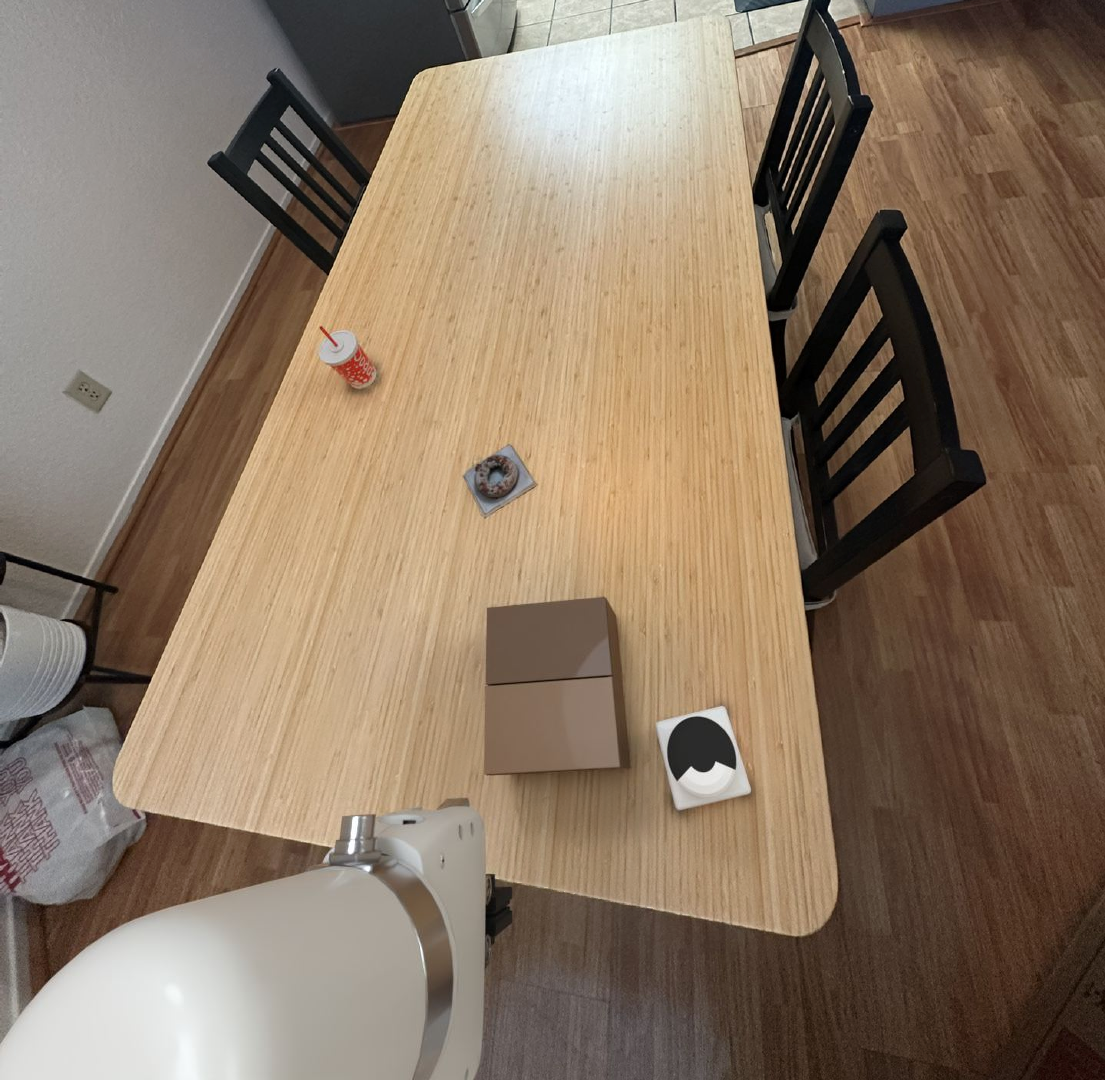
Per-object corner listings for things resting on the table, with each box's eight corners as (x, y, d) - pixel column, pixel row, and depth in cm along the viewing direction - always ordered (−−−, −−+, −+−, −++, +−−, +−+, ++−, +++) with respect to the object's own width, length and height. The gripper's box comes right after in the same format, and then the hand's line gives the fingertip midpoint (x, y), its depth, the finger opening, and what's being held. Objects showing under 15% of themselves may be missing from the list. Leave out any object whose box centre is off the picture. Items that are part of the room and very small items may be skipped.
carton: (630, 768, 65) (620, 768, 57) (510, 774, 67) (483, 775, 59) (616, 615, 74) (605, 595, 65) (510, 624, 75) (486, 606, 67)
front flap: (620, 767, 57) (619, 767, 57) (485, 774, 59) (484, 774, 59) (612, 677, 61) (611, 676, 61) (486, 686, 63) (485, 686, 63)
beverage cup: (366, 397, 99) (323, 349, 88) (338, 386, 101) (292, 338, 90) (388, 367, 101) (348, 316, 90) (359, 356, 104) (318, 306, 93)
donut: (511, 442, 89) (508, 436, 88) (536, 485, 85) (533, 479, 83) (461, 473, 88) (456, 467, 87) (484, 518, 84) (479, 513, 82)
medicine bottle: (658, 725, 67) (650, 718, 57) (722, 710, 66) (726, 700, 57) (678, 807, 63) (674, 814, 53) (747, 791, 62) (756, 795, 53)
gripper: (291, 752, 27) (436, 758, 42) (192, 1348, 19) (418, 1091, 33) (455, 741, 26) (544, 751, 41) (431, 1367, 18) (554, 1093, 32)
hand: (487, 904), depth 37 cm, fingers closed
